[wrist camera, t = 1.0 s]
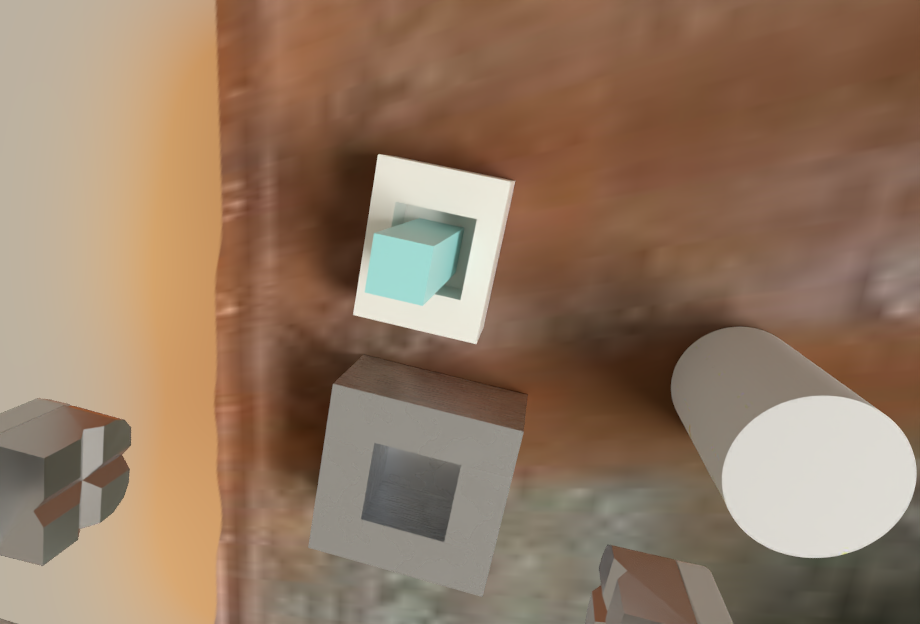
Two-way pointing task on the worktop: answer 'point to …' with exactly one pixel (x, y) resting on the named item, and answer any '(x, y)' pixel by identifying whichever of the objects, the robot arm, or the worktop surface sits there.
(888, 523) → the cup
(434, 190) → the white square-hole block
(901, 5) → the worktop surface
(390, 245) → the plug
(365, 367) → the port
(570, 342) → the worktop surface
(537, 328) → the worktop surface
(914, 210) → the worktop surface
